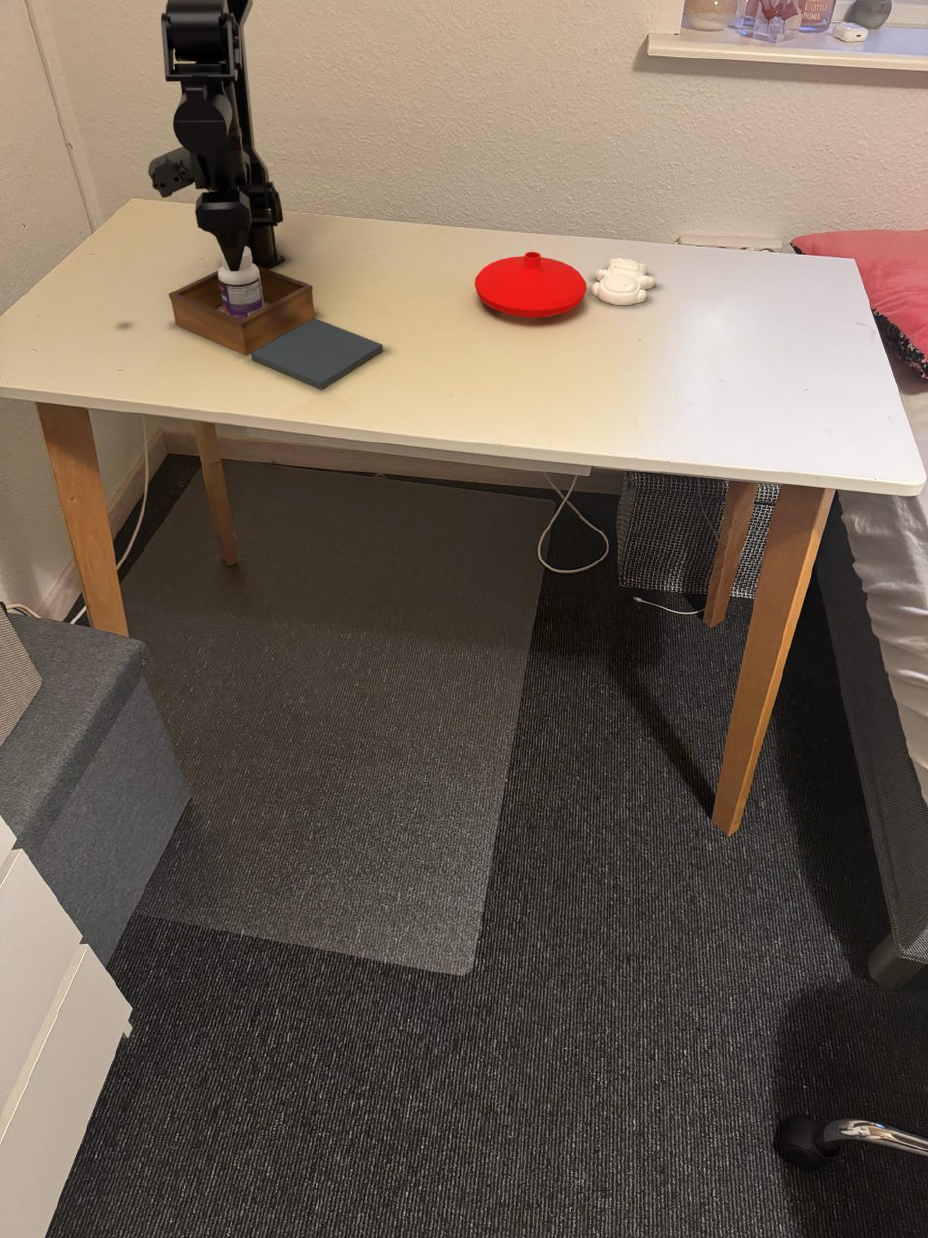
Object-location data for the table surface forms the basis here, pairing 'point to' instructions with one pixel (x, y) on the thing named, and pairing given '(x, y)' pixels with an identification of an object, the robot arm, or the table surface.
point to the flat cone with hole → (530, 286)
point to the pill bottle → (241, 287)
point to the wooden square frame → (254, 330)
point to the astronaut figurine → (622, 282)
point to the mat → (317, 353)
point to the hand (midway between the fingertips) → (235, 254)
